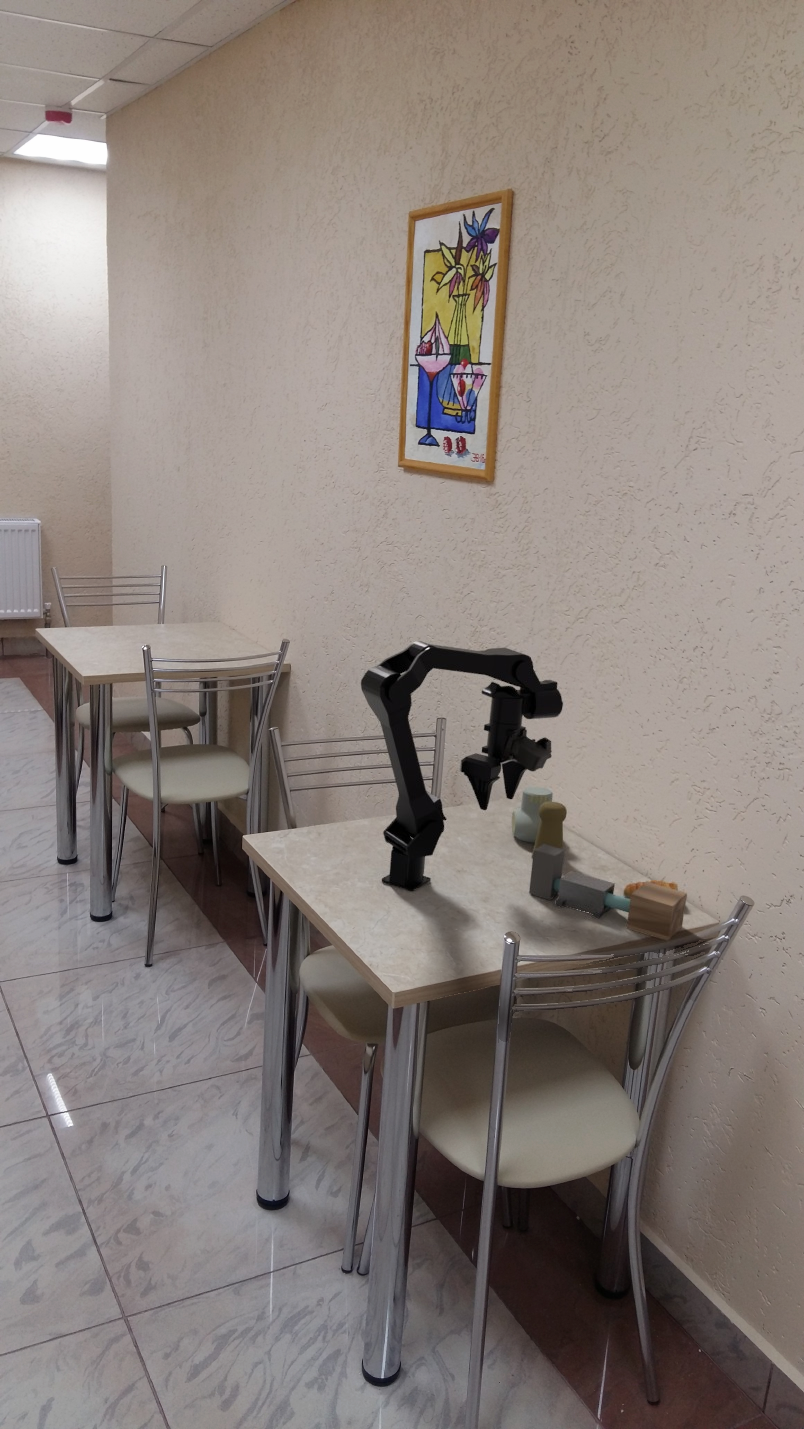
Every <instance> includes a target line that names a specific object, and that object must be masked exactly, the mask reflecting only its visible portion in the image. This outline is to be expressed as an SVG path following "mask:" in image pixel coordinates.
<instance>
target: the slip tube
mask: <svg viewBox="0 0 804 1429" xmlns="http://www.w3.org/2000/svg"><path fill="white" fill-rule="evenodd" d="M565 851H566V850H565V849H564V848H563V849H560V848H557V847H553V846H550V845H546V844H543V845H541V846H540V847H538V848H536V849H535V850H534V853H533V852H532V853H533V859H532V864H531V871H530V881H529V890H528V893H529V894H531V895H533V896H536V897H537V896H538V897H541V898H543V899H547V900H552V899H553V898H555V897H556V896H557V895H558V894H559V885H560V879H561V878H562V877H563V876H562V875H563V867H564V860H565ZM604 905H605V906H608V907H611V908H612V909H615V910H618V911H622V912H624V913H625V912H626V913H627V914H629V907H630V899H628V898H626V897H625V896H624V897H623V896H620V895H616V894H614V893H613V894H610V893H606V894H605V901H604Z"/></svg>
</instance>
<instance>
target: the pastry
mask: <svg viewBox="0 0 804 1429" xmlns="http://www.w3.org/2000/svg"><path fill="white" fill-rule="evenodd" d="M645 882H650V883H653V884H657V885H660V886H664V887H667V888H671V889H674V890H678V891H679V888H678V884H677V883H676V882H674V881H672V882H666V881H663V880H657V879H653V880H650V881H649V880H647V881H643V882H642V881H638V882H636V883H629V884H627V885H626V886H625V887H624V889H623V893H622V894H623V896H624V898H628V899H631V894H632V893H633V892H634V891H636V890H637V889H638V888H639V887H641V886H642V885H643V884H644V883H645Z"/></svg>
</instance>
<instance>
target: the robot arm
mask: <svg viewBox="0 0 804 1429" xmlns="http://www.w3.org/2000/svg"><path fill="white" fill-rule="evenodd" d="M434 669H436V670H443V671H451V672H460V673H468V674H474V675H475V674H476V675H482V676H486V677H489V678H492V679H494V680H497V681H501V682H504V683H506V684H508V685H500V684H499V683H498V682H496V681H495V682H494V681H491V682H490V684H489V685H488V686H486V687H484V688H483V689H482V690H481V694H482V695H484V696H487V697H489V698H491V701H490V702H491V704H490V711H489V712H490V713H489V721H488V723H485V724H484V726H483V731H485V732H487V742H486V745H484V746H482V747H481V753H483V754H480V753H476V752H475V753H473V754H469V755H467V756H465V757H464V758H462V759H461V760H460V768H459V771H460V772H461V773H463V775H464V776H465V777H467V779H468V781H469V783H470V786H471V787H472V790H473V793H474V795H475V798H476V801H477V803H478V805H479V809H480V810H482V811H487V810H488V806H489V803H490V798H491V793H492V788H493V785H494V783H496V782H497V781H498V780H499V779H501V776H500V775H499V774H500V773H501V771H502V776H503V784H504V791H505V797H506V799H508V800H513V799H514V796H515V795H516V791H517V790H518V787H519V785H520V783H521V780H522V778H523V776H524V773H525V772H526V771H529V772H536V771H537V770H540V769H543V768H544V766H545V764H546V763H547V760H549V759H552V740H550V739H549V738H547V737H545V736H544V737H542V738H539V739H538V740H536V739H535V738H533V739H531V738H529V737H528V736H527V734H528V729H527V727H526V726H523V725H522V724H523V718H525V719H526V720H537V719H539V720H540V719H551V718H553V719H554V718H557V717H559V716H560V714H561V713H562V711H563V707H564V701H563V698H562V694H561V691H560V690H559V688H558V684H559V683H558V681H555V680H552V679H545V680H542V681H540V679H539V677H538V675H537V673H536V672H535V670H534V663H533V660H532V657H531V656H529V655H528V654H525V653H522V652H519V651H517V650H513V649H511V648H507V647H496V648H494V647H493V648H488V649H483V650H474V649H466V648H461V647H459V648H458V647H453V646H446V645H445V646H444V645H438V644H432V643H431V644H430V643H427V642H424V641H421V640H419V641H414V642H413V643H411V644H409V645H408V646H407V647H405V649H403V650H401V651H399V652H398V653H395V654H393V655H391V656H389V657H386V658H385V659H384V660H382V661H381V662H380V663H379V664H377V665H376V666H373V667H370V668H369V669H368V670H367V671H366V672H365V673H364V674H363V677H362V678H361V680H360V687H361V691H362V692H361V693H362V694H363V696H364V697H365V700H366V702H367V704H368V706H369V708H370V709H371V711H372V712H373V713H374V715H375V716H376V719H377V720H378V721H379V723H380V726H381V731H382V735H383V738H384V741H385V746H386V749H387V753H388V756H389V761H390V765H391V768H392V771H393V772H392V773H393V775H394V780H395V783H396V784H395V785H396V788H397V791H398V792H397V793H398V797H397V802H396V804H395V813H396V817H395V818H394V819H393V820H392V821H391V822H390V824H388V826H387V827H386V828H385V829H383V837H384V840H385V843H387V844H390V845H391V846H392V847H391V848H392V849H391V852H390V853H391V854H390V864H389V874H388V875H386V876H384V877H382V878H381V882H382V883H385V884H386V885H391V886H394V887H397V888H399V889H403V890H406V891H410V892H413V891H416V890H417V889H420V888H421V887H423V886H424V885H426V884H428V883H430V882H431V881H432V878H431V877H429V876H425V875H424V874H425V864H426V862H425V861H426V857H429V856H433V854H434V853H435V849H436V847H437V844H438V843H439V840H440V838H441V836H442V834H443V833H444V831H445V821H447V817H446V816H445V814H444V810H443V802H442V800H441V798H439V797H437V796H436V795H434V794H432V793H430V791H429V792H428V791H427V789H426V784H425V781H424V777H423V773H422V769H421V764H420V760H419V757H418V753H417V752H418V751H417V748H416V746H415V741H414V737H413V732H412V729H411V725H410V722H409V716H410V711H411V708H412V704H413V703H412V702H413V701H412V694H413V693H414V692H415V691H416V690H417V689H418V688H420V687H421V685H422V684H423V682H424V681H425V679H426V678H427V675H428V674H429V673H430V672H431V671H432V670H434ZM514 686H515V687H517V688H518V687H519V689H516V688H515V687H514ZM484 754H485V755H484Z"/></svg>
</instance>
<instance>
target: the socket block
mask: <svg viewBox="0 0 804 1429" xmlns="http://www.w3.org/2000/svg"><path fill="white" fill-rule="evenodd" d="M644 882H645V883H644V884H643V885H642V886H641V887H639V888H638V889H637V890H636V891H634V892H633V893H632V894H631V899H630V907H629V913H627V914H628V916H627V924H626V929H628V930H631V931H635V932H638V933H641V934H645V935H647V936H652V937H654V938H658V939H661V940H665V941H669V940H670V939H671V938H672V937H673V936H674V935H675V934H676V933H678V931H679V930H680V929H682V927H683V924H684V923H683V922H684V917H685V916H684V915H685V909H686V902H687V896H688V895H687V894H688V893H687V892H684V891H683V890H682V891H681V890H679V889H678V890H674V889H671V888H667V887H664V886H660V885H657V884H653V883H650V881H649V882H646V881H644Z"/></svg>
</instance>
